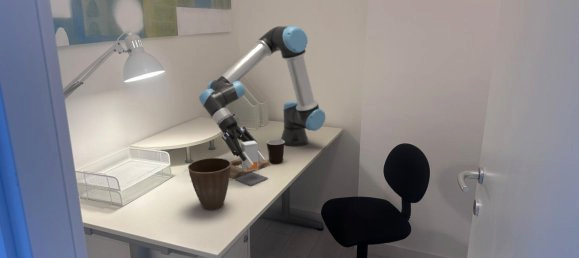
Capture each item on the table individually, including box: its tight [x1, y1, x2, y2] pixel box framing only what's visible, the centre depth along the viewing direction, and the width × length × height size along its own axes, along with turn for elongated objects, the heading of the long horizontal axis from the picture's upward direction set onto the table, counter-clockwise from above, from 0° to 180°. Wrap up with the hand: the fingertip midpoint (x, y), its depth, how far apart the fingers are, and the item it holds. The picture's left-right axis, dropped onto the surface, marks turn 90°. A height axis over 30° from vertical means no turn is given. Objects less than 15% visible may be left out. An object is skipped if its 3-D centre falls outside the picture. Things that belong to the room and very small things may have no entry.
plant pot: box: [187, 157, 231, 211], centre depth 139 cm, size 15×15×16 cm
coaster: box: [234, 172, 269, 187], centre depth 164 cm, size 10×10×1 cm
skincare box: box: [240, 141, 259, 172], centre depth 161 cm, size 6×4×12 cm
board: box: [229, 157, 271, 181], centre depth 176 cm, size 22×14×2 cm, turn 138°
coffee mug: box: [266, 138, 285, 165], centre depth 185 cm, size 12×9×10 cm
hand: (256, 163), depth 160 cm, fingers closed on skincare box, 7 cm apart
